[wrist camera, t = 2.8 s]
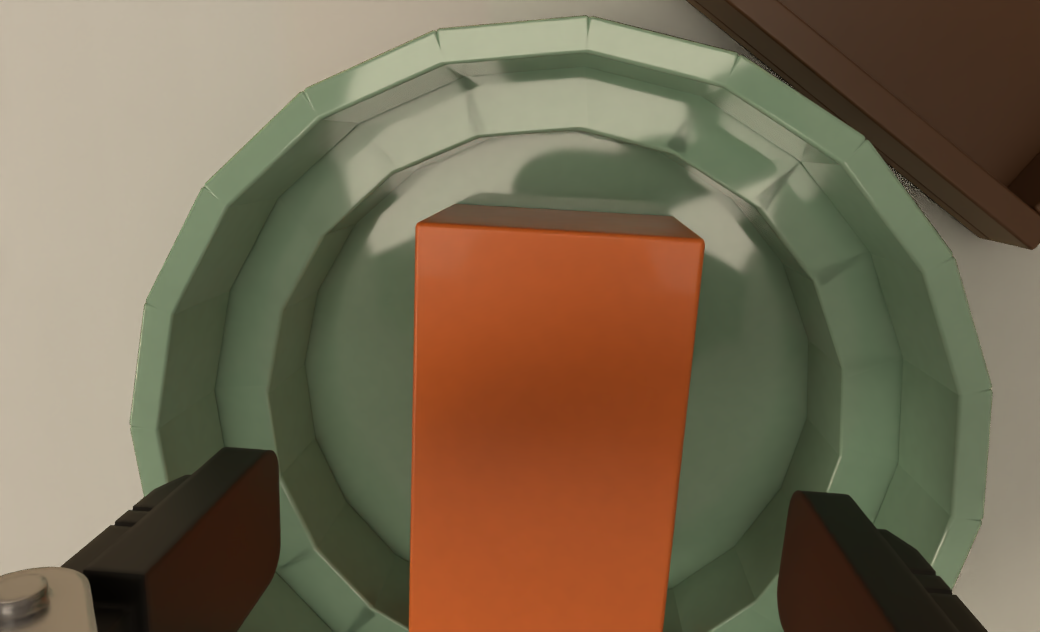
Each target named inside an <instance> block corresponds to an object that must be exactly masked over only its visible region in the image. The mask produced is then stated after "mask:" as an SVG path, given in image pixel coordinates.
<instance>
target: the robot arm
mask: <svg viewBox="0 0 1040 632" xmlns="http://www.w3.org/2000/svg"><path fill="white" fill-rule="evenodd" d="M280 547H281V529H280V491H279V464H278V459H277V456H276V453H275V452H274V451H273V450H263V449H250V448H236V447H223V448H222V449H220V450H219V451H218V452H217V453H216V454H215V455H214V456H212V457H211V458H210V459H209V460H208V461H207V462H206V463H204V464H203V465H202V466H201V467H200V468H199V469H198V470H196V471H195V472H194V473H193V474H192V475H184V476H182V477H180V478H177V479H175V480H173V481H171V482H168V483H166V484H164V485H162V486H160V487H157V488H155V489H154V490H153V491H151V492H150V493H149V494H148V495H146V496H145V497H144V498H143V499H142V500H140V501H139V502H138V503H137V504H136V505H134V506H133V510H128V511H127V512H126V513H125V514H124V515H122V516H121V517H120V518H119V519H118V520H116V521H115V525H110V526H109V527H108V528H107V529H105V530H104V531H103V532H102V533H101V534H99V535H98V536H97V537H96V538H95V539H93V540H92V541H91V542H90V543H89V544H87V545H86V546H85V547H84V548H83V549H81V550H80V551H79V552H78V553H76V554H75V555H74V556H73V557H72V558H70V559H69V560H68V561H67V562H66V563H64V564H63V565H62V566H61V567H40V568H31V569H26V570H20V571H16V572H12V573H8V574H5V575H2V576H0V632H237V631H238V630H239V628H240V627H241V625H242V624H243V622H244V621H245V619H246V618H247V616H248V615H249V613H250V612H251V611H252V609H253V608H254V606H255V605H256V603H257V602H258V600H259V599H260V597H261V596H262V594H263V593H264V592H265V590H266V589H267V587H268V586H269V584H270V582H271V581H272V579H273V577H274V574H275V571H276V568H277V565H278V560H279V555H280ZM777 605H778V613H779V618H780V622H781V626H782V628H783V631H784V632H988V631H987V630H986V629H985V628H984V627H983V626H982V624H981V623H980V622H979V621H978V620H977V619H976V617H975V616H974V615H973V614H972V613H971V612H970V610H969V609H968V608H967V607H966V606H965V605H964V604H963V602H962V601H961V600H960V599H959V598H958V597H957V595H952V590H951V588H950V587H949V586H948V585H947V584H946V583H945V582H944V580H943V579H942V578H941V577H940V576H936V571H935V570H934V569H933V568H932V566H931V565H930V564H929V563H928V562H927V561H926V559H925V558H924V557H923V556H922V555H921V554H920V553H919V551H918V550H917V549H915V548H914V547H912V546H911V545H909V544H908V543H906V542H905V541H903V540H902V539H900V538H899V537H897V536H895V535H894V534H892V533H891V532H889V531H888V530H886V529H877V528H876V527H875V526H874V525H873V523H872V522H871V521H870V520H869V518H868V517H867V516H866V515H865V513H864V512H863V511H862V510H861V508H860V507H859V506H858V505H857V503H856V502H855V501H854V500H853V498H852V497H851V496H850V495H848V494H840V493H827V492H814V491H800V490H797V491H795V492H794V493H793V495H792V497H791V499H790V503H789V508H788V515H787V521H786V528H785V535H784V542H783V549H782V556H781V562H780V569H779V576H778V584H777Z"/></svg>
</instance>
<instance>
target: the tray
mask: <svg viewBox="0 0 1040 632" xmlns="http://www.w3.org/2000/svg"><path fill="white" fill-rule="evenodd" d="M686 1H688V2H689V3H690V4H691V5H693V6H694V7H695V8H696V9H698V10H699V11H700V12H701V13H702V14H704V15H705V16H706V17H707V18H709V19H710V20H711V21H712V22H714V23H715V24H716V25H717V26H719V27H720V28H721V29H722V30H723V31H725V32H726V33H727V34H728V35H730V36H731V37H732V38H733V39H735V40H736V41H737V42H738V43H740V44H741V45H742V46H743V47H744V48H746V49H747V50H748V51H749V52H751V53H752V54H753V55H754V56H756V57H757V58H758V59H759V60H760V61H762V62H763V63H764V64H765V65H767V66H768V67H769V68H770V69H772V70H773V71H774V72H775V73H777V74H778V75H779V76H780V77H781V78H783V79H784V80H785V81H786V82H788V83H789V84H790V85H791V86H793V87H794V88H795V89H796V90H798V91H799V92H800V93H801V94H802V95H804V96H805V97H807V98H808V99H810V100H812V101H813V102H815V103H816V104H818V105H819V106H821V107H822V108H824V109H825V110H827V111H828V112H830V113H831V114H833V115H834V116H836V117H837V118H839V119H840V120H842V121H843V122H845V123H846V124H848V125H849V126H851V127H852V128H854V129H855V130H857V131H858V132H860V133H861V134H863V135H864V136H865V139H867V140H869V141H870V142H871V143H872V145H873V146H874V147H875V149H876V150H877V151H878V153H879V154H880V155H881V157H882V158H883V159H884V161H885V162H886V163H888V164H889V165H890V166H891V167H893V168H894V169H895V170H896V171H898V172H899V173H900V174H901V175H902V176H904V177H905V178H906V179H907V180H909V181H910V182H911V183H912V184H914V185H915V186H916V187H917V188H918V189H920V190H921V191H922V192H923V193H925V194H926V195H927V196H928V197H930V198H931V199H932V200H933V201H935V202H936V203H937V204H938V205H939V206H941V207H942V208H943V209H944V210H946V211H947V212H948V213H949V214H951V215H952V216H953V217H954V218H956V219H957V220H958V221H959V222H960V223H962V224H963V225H964V226H965V227H967V228H968V229H969V230H970V231H972V232H973V233H974V234H975V235H977V236H978V237H979V238H983V239H987V240H992V241H996V242H1001V243H1005V244H1009V245H1013V246H1018V247H1022V248H1026V249H1030V250H1033V249H1034V248H1036V247H1037V246H1038V244H1039V243H1040V0H686Z"/></svg>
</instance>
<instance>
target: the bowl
mask: <svg viewBox="0 0 1040 632" xmlns="http://www.w3.org/2000/svg"><path fill="white" fill-rule="evenodd" d="M204 186H205V187H203V188H201V190H200V192H199V194H198V196H197V198H196V200H195V202H194V204H193V206H192V208H191V210H190V212H189V214H188V216H187V219H186V221H185V223H184V225H183V227H182V229H181V231H180V233H179V235H178V237H177V239H176V241H175V243H174V245H173V247H172V249H171V251H170V253H169V255H168V257H167V259H166V261H165V263H164V265H163V267H162V269H161V271H160V273H159V275H158V277H157V279H156V281H155V283H154V285H153V287H152V289H151V291H150V293H149V295H148V297H147V299H146V303H145V305H144V311H143V319H142V327H141V335H140V343H139V351H138V359H137V367H136V375H135V383H134V391H133V400H132V408H131V416H130V425H131V428H130V430H131V435H132V440H133V445H134V450H135V455H136V460H137V465H138V469H139V474H140V479H141V484H142V489H143V494H144V497H145V496H146V495H148V494H149V493H150V492H151V491H153V490H154V489H155V488H157V487H160V486H162V485H164V484H166V483H168V482H171V481H173V480H175V479H177V478H180V477H182V476H184V475H192V474H193V473H194V472H195V471H196V470H198V469H199V468H200V467H201V466H202V465H203V464H204V463H206V462H207V461H208V460H209V459H210V458H211V457H212V456H214V455H215V454H216V453H217V452H218V451H219V450H220V449H222V448H223V447H236V448H250V449H263V450H273V451H274V452H275V453H276V456H277V459H278V464H279V491H280V529H281V547H280V555H279V560H278V565H277V568H276V571H275V574H274V577H273V579H272V581H271V582H270V584H269V586H268V587H267V589H266V590H265V592H264V593H263V594H262V596H261V597H260V599H259V600H258V602H257V603H256V605H255V606H254V608H253V609H252V611H251V612H250V613H249V615H248V616H247V618H246V619H245V621H244V622H243V624H242V625H241V627H240V628H239V630H238V631H237V632H409V580H410V521H411V462H412V403H413V344H414V285H415V227H416V224H417V223H418V222H420V221H422V220H424V219H426V218H428V217H430V216H432V215H434V214H436V213H438V212H440V211H442V210H444V209H446V208H448V207H450V206H452V205H454V204H467V205H484V206H502V207H520V208H537V209H555V210H572V211H590V212H607V213H625V214H642V215H660V216H672V217H675V218H676V219H677V220H679V221H680V222H681V223H683V224H684V225H685V226H686V227H688V228H689V229H690V230H692V231H693V232H694V233H696V234H697V235H698V236H700V237H701V238H702V239H704V242H705V250H704V259H703V268H702V277H701V287H700V296H699V305H698V314H697V323H696V332H695V342H694V351H693V360H692V369H691V378H690V388H689V397H688V406H687V415H686V424H685V433H684V443H683V452H682V461H681V470H680V479H679V489H678V498H677V507H676V516H675V525H674V534H673V544H672V553H671V562H670V571H669V580H668V589H667V599H666V608H665V617H664V626H663V632H784V631H783V628H782V626H781V622H780V618H779V613H778V605H777V584H778V576H779V569H780V562H781V556H782V549H783V542H784V535H785V528H786V521H787V515H788V508H789V503H790V499H791V497H792V495H793V493H794V492H795V491H797V490H800V491H814V492H827V493H840V494H848V495H850V496H851V497H852V498H853V500H854V501H855V502H856V503H857V505H858V506H859V507H860V508H861V510H862V511H863V512H864V513H865V515H866V516H867V517H868V518H869V520H870V521H871V522H872V523H873V525H874V526H875V527H876V528H877V529H886V530H888V531H889V532H891V533H892V534H894V535H895V536H897V537H899V538H900V539H902V540H903V541H905V542H906V543H908V544H909V545H911V546H912V547H914V548H915V549H917V550H918V551H919V553H920V554H921V555H922V556H923V557H924V558H925V559H926V561H927V562H928V563H929V564H930V565H931V566H932V568H933V569H934V570H935V571H936V576H940V577H941V578H942V579H943V580H944V582H945V583H946V584H947V585H948V586H949V587H950V588H951V590H952V589H953V587H954V585H955V583H956V580H957V578H958V576H959V574H960V571H961V569H962V567H963V565H964V562H965V560H966V558H967V556H968V553H969V551H970V549H971V547H972V544H973V542H974V540H975V538H976V535H977V533H978V531H979V529H980V526H981V524H982V521H981V519H983V515H984V502H985V489H986V475H987V462H988V449H989V435H990V422H991V409H992V396H993V392H992V390H991V388H992V384H991V381H990V377H989V374H988V370H987V367H986V363H985V360H984V356H983V353H982V349H981V346H980V343H979V339H978V336H977V332H976V329H975V325H974V322H973V318H972V315H971V311H970V308H969V304H968V301H967V298H966V294H965V291H964V287H963V284H962V280H961V277H960V273H959V270H958V266H957V263H956V259H955V258H954V257H953V254H952V251H951V250H950V249H949V247H948V246H947V245H946V243H945V242H944V241H943V239H942V238H941V236H940V235H939V234H938V232H937V231H936V230H935V228H934V227H933V226H932V224H931V223H930V222H929V220H928V219H927V218H926V216H925V215H924V214H923V212H922V211H921V209H920V208H919V207H918V205H917V204H916V203H915V201H914V200H913V199H912V197H911V196H910V195H909V193H908V192H907V191H906V189H905V188H904V186H903V185H902V184H901V182H900V181H899V180H898V178H897V177H896V176H895V174H894V173H893V172H892V170H891V169H890V168H889V166H888V165H887V164H886V162H885V161H884V159H883V158H882V157H881V155H880V154H879V153H878V151H877V150H876V149H875V147H874V146H873V145H872V143H871V142H870V141H869V140H867V139H865V136H864V135H863V134H861V133H860V132H858V131H857V130H855V129H854V128H852V127H851V126H849V125H848V124H846V123H845V122H843V121H842V120H840V119H839V118H837V117H836V116H834V115H833V114H831V113H830V112H828V111H827V110H825V109H824V108H822V107H821V106H819V105H818V104H816V103H815V102H813V101H812V100H810V99H808V98H807V97H805V96H804V95H802V94H801V93H799V92H798V91H796V90H795V89H793V88H792V87H790V86H789V85H787V84H786V83H784V82H783V81H781V80H780V79H778V78H777V77H775V76H774V75H772V74H771V73H769V72H768V71H766V70H765V69H763V68H762V67H760V66H759V65H757V64H756V63H754V62H753V61H751V60H750V59H748V58H747V57H745V56H744V55H739V56H738V53H736V52H734V51H730V50H726V49H722V48H718V47H714V46H710V45H706V44H702V43H698V42H694V41H690V40H686V39H682V38H678V37H674V36H670V35H666V34H662V33H658V32H654V31H650V30H646V29H642V28H639V27H635V26H631V25H627V24H623V23H619V22H615V21H611V20H607V19H603V18H599V17H595V16H591V17H588V16H587V15H583V16H572V17H561V18H549V19H538V20H527V21H516V22H504V23H493V24H482V25H471V26H460V27H448V28H439V29H437V31H430V32H428V33H426V34H424V35H422V36H419V37H417V38H415V39H413V40H411V41H408V42H406V43H404V44H402V45H400V46H397V47H395V48H393V49H391V50H388V51H386V52H384V53H382V54H380V55H377V56H375V57H373V58H371V59H369V60H366V61H364V62H362V63H360V64H358V65H355V66H353V67H351V68H349V69H347V70H344V71H342V72H340V73H338V74H336V75H333V76H331V77H329V78H327V79H324V80H322V81H320V82H318V83H316V84H313V85H311V86H309V87H307V88H306V89H305V90H304V91H302V92H299V93H298V94H297V95H296V96H295V97H294V98H293V99H292V100H291V101H290V102H289V103H288V104H287V105H286V106H285V107H284V108H283V109H282V110H281V111H280V112H279V113H278V114H277V115H276V116H275V117H274V118H273V119H271V120H270V121H269V122H268V123H267V124H266V125H265V126H264V127H263V128H262V129H261V130H260V131H259V132H258V133H257V134H256V135H255V136H254V137H253V138H252V139H251V140H250V141H249V142H248V143H247V144H246V145H244V146H243V147H242V148H241V149H240V150H239V151H238V152H237V153H236V154H235V155H234V156H233V157H232V158H231V159H230V160H229V161H228V162H227V163H226V164H225V165H224V166H223V167H222V168H221V169H220V170H219V171H217V172H216V173H215V174H214V175H213V176H212V177H211V178H210V179H209V180H208V181H207V182H206V183H205V185H204Z"/></svg>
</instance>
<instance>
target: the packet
mask: <svg viewBox="0 0 1040 632" xmlns="http://www.w3.org/2000/svg"><path fill="white" fill-rule="evenodd" d="M704 250H705V242H704V239H702V238H701V237H700V236H698V235H697V234H696V233H694V232H693V231H692V230H690V229H689V228H688V227H686V226H685V225H684V224H683V223H681V222H680V221H679V220H677V219H676V218H675V217H672V216H660V215H642V214H625V213H607V212H590V211H572V210H555V209H537V208H520V207H502V206H484V205H467V204H454V205H452V206H450V207H448V208H446V209H444V210H442V211H440V212H438V213H436V214H434V215H432V216H430V217H428V218H426V219H424V220H422V221H420V222H418V223H417V224H416V227H415V285H414V344H413V403H412V462H411V521H410V580H409V632H663V626H664V617H665V608H666V599H667V589H668V580H669V571H670V562H671V553H672V544H673V534H674V525H675V516H676V507H677V498H678V489H679V479H680V470H681V461H682V452H683V443H684V433H685V424H686V415H687V406H688V397H689V388H690V378H691V369H692V360H693V351H694V342H695V332H696V323H697V314H698V305H699V296H700V287H701V277H702V268H703V259H704Z"/></svg>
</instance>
